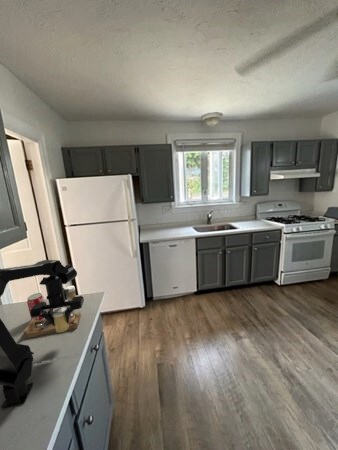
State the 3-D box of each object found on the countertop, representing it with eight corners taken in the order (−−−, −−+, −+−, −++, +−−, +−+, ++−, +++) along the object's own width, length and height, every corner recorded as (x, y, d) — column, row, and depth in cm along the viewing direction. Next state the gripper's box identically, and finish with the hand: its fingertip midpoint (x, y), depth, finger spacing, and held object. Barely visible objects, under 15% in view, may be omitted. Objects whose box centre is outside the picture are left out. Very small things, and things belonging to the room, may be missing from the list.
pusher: (44, 332, 91) (43, 325, 90) (33, 334, 90) (32, 327, 89) (49, 323, 97) (48, 316, 96) (39, 325, 96) (38, 318, 96)
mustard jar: (67, 331, 81) (64, 313, 79) (54, 333, 80) (50, 316, 78) (70, 323, 86) (67, 306, 84) (58, 325, 85) (54, 309, 83)
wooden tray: (77, 330, 93) (76, 321, 92) (25, 340, 88) (23, 331, 88) (81, 318, 101) (80, 310, 101) (34, 326, 97) (32, 318, 96)
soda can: (46, 320, 101) (41, 297, 99) (29, 324, 99) (24, 301, 96) (48, 312, 108) (44, 291, 105) (33, 316, 105) (28, 294, 103)
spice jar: (74, 326, 94) (73, 317, 93) (62, 328, 93) (60, 319, 92) (77, 319, 99) (75, 310, 98) (65, 321, 98) (64, 312, 97)
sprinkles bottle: (78, 309, 109) (75, 287, 106) (69, 313, 106) (65, 290, 104) (77, 306, 113) (73, 284, 110) (68, 309, 110) (64, 287, 108)
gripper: (83, 277, 89) (88, 308, 92) (38, 284, 85) (44, 316, 88) (78, 289, 78) (83, 324, 81) (25, 298, 75) (33, 334, 78)
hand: (61, 324), depth 82 cm, fingers closed on mustard jar, 5 cm apart
